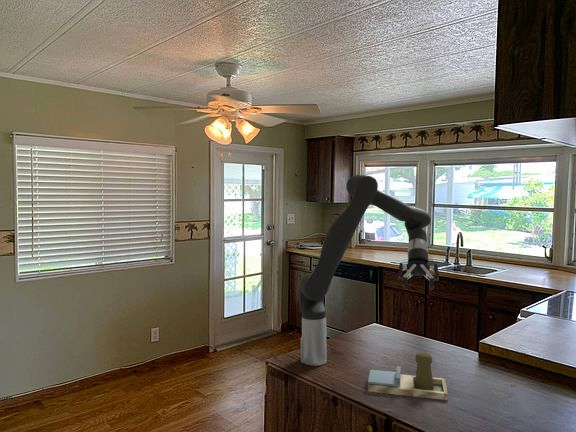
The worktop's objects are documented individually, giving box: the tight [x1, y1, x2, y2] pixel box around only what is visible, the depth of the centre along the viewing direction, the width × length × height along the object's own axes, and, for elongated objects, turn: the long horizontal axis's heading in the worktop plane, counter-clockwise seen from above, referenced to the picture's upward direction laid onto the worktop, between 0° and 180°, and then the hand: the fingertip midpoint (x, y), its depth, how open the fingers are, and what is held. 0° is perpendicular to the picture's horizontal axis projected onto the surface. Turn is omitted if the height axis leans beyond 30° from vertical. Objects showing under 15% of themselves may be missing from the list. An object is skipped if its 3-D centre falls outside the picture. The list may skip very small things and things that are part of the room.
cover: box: [367, 365, 402, 387], centre depth 139 cm, size 10×10×3 cm
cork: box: [414, 351, 434, 391], centre depth 136 cm, size 6×6×11 cm
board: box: [367, 373, 449, 401], centre depth 137 cm, size 24×11×2 cm, turn 74°
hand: (418, 288), depth 153 cm, fingers open, 8 cm apart
